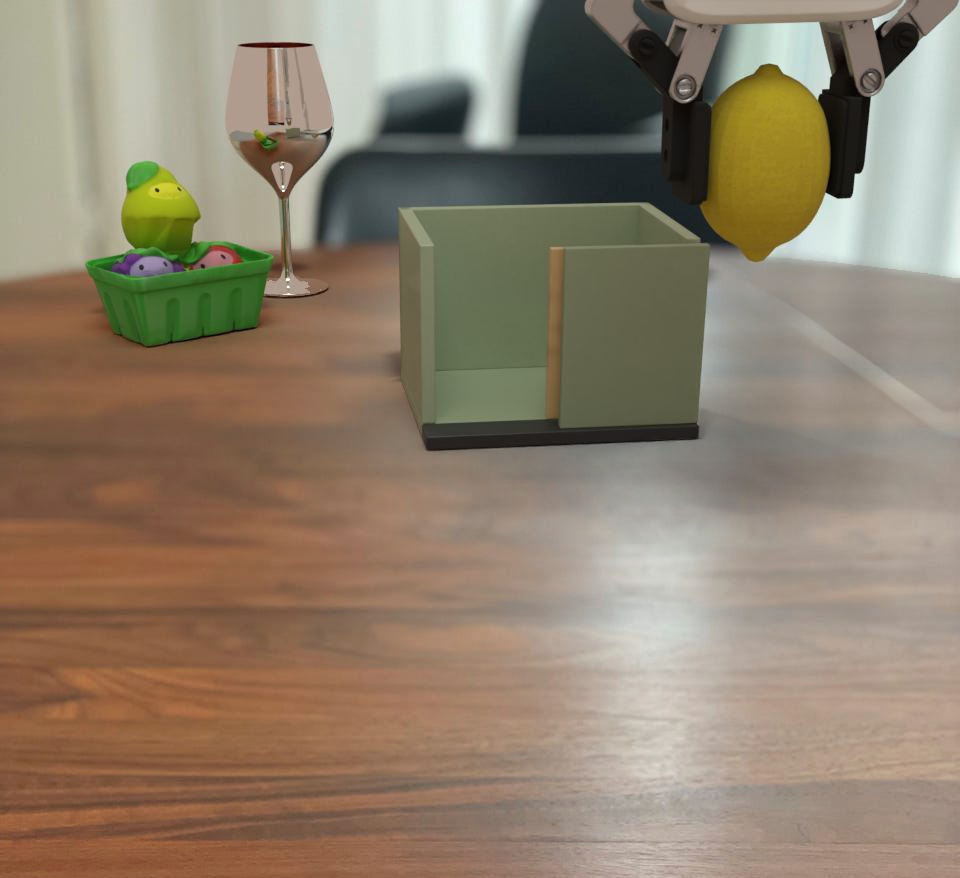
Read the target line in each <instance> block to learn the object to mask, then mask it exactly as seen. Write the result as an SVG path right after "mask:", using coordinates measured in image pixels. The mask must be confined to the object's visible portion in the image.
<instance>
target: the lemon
mask: <svg viewBox="0 0 960 878" xmlns="http://www.w3.org/2000/svg"><path fill="white" fill-rule="evenodd" d="M711 110H712V117H711V135H710V154H709V173H708V192H707V200H706V201H703V202H702V204H701V205H699V207H700V211H701V213H702V215H703V217H704V219H705V221H706V222H707V224H708V225H709V226H710V227H711V228H712V230H713V231H714V232H715V233H716V234H717V235H718V236H720V238H722V239H723V240H724V241H727V242H729V243H730V244H732V245H734V246H736V247H737V248H738V249H739V250H740V251H741V254H743V256H744V257H745V258H746V259H747V260H748V261H750V262H753V263H760V262H763V261H765V259H767V258H768V256H770V255H771V254H772V253H773V252H774V250H775V249H776V248H778V247H780V246H782V245H784V244H786V243H789V242H791V241H793V240H794V239H795V238H797V237H798V236H800V235H801V234H802V233H803V232H804V231H805V230H807V228H808V227H809V226H810V225H811V224H812V222H813V220H814V219H815V217H816V216H817V214H818V212H819V210H820V208H821V206H822V204H823V201H824V198H825V195H826V194H827V193H826V189H827V185H828V180H829V174H830V162H831V151H830V138H829V131H828V126H827V121H826V118H825V115H824V112H823V109H822V107H821V105H820V103H819V102H818V98H817V97H816V96H815V94H813V92H812V91H811V90H810V89H809V88H808V87H807V86H806V85H804V84H803V83H802V82H801V81H799V80H797V79H795V78H794V77H792V76H790V75H787V74H785V73H784V72H783V71H782V70H781V68H780V67H779V65H778V64H773V63H764V64H761V65H759V67H757V68H756V70H755V71H754V73H751V74H749V75H747V76H745V77H743V78H741V79H739V80H737V81H735V82H734V83H732V84H731V85H729V86H728V87H727V88H726V89H725V90H723V91H722V92H721V93H720V94H719V96H717V98H716V99H715V101H714V102H713V104H712V105H711Z"/></svg>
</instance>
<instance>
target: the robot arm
mask: <svg viewBox="0 0 960 878" xmlns="http://www.w3.org/2000/svg"><path fill="white" fill-rule="evenodd" d="M635 1H636V0H585V2H584V13H585V15H586V16H587V17H588V18H589V19H590V20H591V21H592V23H594V24H595V25H596V26H597V27H598V28H599V29H600V30H601V31H602V32H603V33H604V35H606V36H607V37H608V38H609V39H610V40H611V41H612V42H613V43H614V44H616V46H618V47H619V49H620V50H622V51H623V53H624V55H626V57H627V58H628V59H629V60H630V62H632V63H633V65H634V66H636V68H637V69H638V70H639V71H640V73H642V74H643V75H644V76H645V77H646V78H647V80H648V81H649V82H650V83H651V85H653V87H654V90H656V91H657V93H658V94H660V95H662V96H663V97H662V115H661V117H662V120H661V122H662V123H661V145H660V174H661V175H660V176H661V178H662V180H663V181H664V182H666V183H670V190H671V194H672V196H674V197H675V198H677V199H678V200H680V201H681V202H683V203H685V205H687V206H700V205H701V204H702V202H703V201H706V200H707V192H708V173H709V154H710V135H711V117H712V110H711V107H712V105H711V104H709V102H706V101H705V100H704V99H703V98H704V85H703V82H704V80H705V77H706V74H707V71H708V69H709V66H710V63H711V61H712V58H713V55H714V52H715V50H716V48H717V45H718V41H719V39H720V37H721V33H722V31H723V29H724V27H725V25H761V24H765V25H766V24H798V23H799V24H800V23H801V24H802V23H819V27H820V33H821V36H822V40H823V41H822V42H823V44H824V49H825V53H826V57H827V61H828V67H829V69H830V74H831V75H830V77H829V84H828V85H829V86H828V87H829V88H822V89H821V93H819V95H818V97H817V100H818V102H819V103H820V105H821V107H822V109H823V112H824V115H825V118H826V121H827V126H828V131H829V138H830V151H831V162H830V174H829V180H828V185H827V189H826V193H825V194H826V195H828V196H829V195H830V196H831V197H833V198H835V199H837V200H843V199H852V198H853V196H854V195H853V194H854V189H855V178H856V175H861V173H862V172H863V170H864V167H865V161H866V153H867V142H868V141H867V140H868V132H869V131H868V130H869V121H870V111H871V101H872V97H875V96H876V95H878V94H879V93H880V92H881V91H882V89H883V88H884V86H885V82H886V79H887V78H888V77H889V76H890V75H891V74H892V73H893V72H894V71H895V70H897V68H898V67H899V66H900V65H901V64H902V63H903V62H904V61H905V60H906V58H907V57H909V56H910V55H911V54H912V53H913V52H914V50H916V48H917V47H918V44H919V42H920V41H921V40H922V39H923V38H924V37H927V36H928V35H929V34H930V33H931V32H932V31H933V30H934V29H935V28H936V27H937V26H938V25H939V24H940V23H942V21H944V20H945V19H946V17H948V16H949V15H950V14H951V13H952V12H953V11H955V9H956V8H957V7H958V4H959V2H960V0H905V2H904V0H640V1H641V3H642V4H643V5H644V6H645V8H647V9H648V10H650V11H651V12H654V13H656V14H659V15H662V16H665V17H670V18H673V21H672V25H671V28H670V30H669V33H668V34H667V35H668V36H667V38H666V40H665V42H664V40H663V39H662V38H661V37H660V36H659V35H658V34H657V33H656V32H655V31H653V30H652V29H651V28H650V27H649V26H648V25H647V24H646V23H645V22H644V21H643V20H642V19H641V18H640V16H638V14H637V13H636V11H635V7H634V6H635ZM903 2H904V3H903ZM902 3H903V5H902V6H901V7H900V5H901V4H902ZM898 7H900V8H899V9H898V10H897V12H896V13H895V14H894V15H893V16H892V17H891V18H890V19H888V20H885V21H883V22H882V23H880V24H879V26H878V27H877V28H876V29H875V25H874V20H873V19H877V18H880V17H882V16H885V15H887V14H889V13H891V12H893V11H895V10H896V9H897V8H898Z"/></svg>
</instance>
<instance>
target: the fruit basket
mask: <svg viewBox="0 0 960 878" xmlns="http://www.w3.org/2000/svg"><path fill="white" fill-rule="evenodd" d="M125 183H126V194H125V199H124V201H123V203H122V207H121V213H120V220H121V227H122V232H123V234H124V237H125V239H126V241H127V242H128V244H130V245H131V246H132V247H133V249H132V248H130V249H129V250H127V251H126V252H125V253H121V254H116V255H109V256H105V257H99V258H93V259H90V260H87V261H85V263H84V266H85V269H86V270H87V272H88V274H89V277H90V278H92V280H93V282H94V285H95V288H96V290H97V293H98V296H99V299H100V301H101V304H102V306H103V309H104V311H105V314H106V317H107V319H108V321H109V324H110V326H111V327H110V328H111V329H112V331H113V333H114V334H115V333H116V335H120V336H122V337H123V338H125V339H128V340H130V341H133V342H135V343H138V342H139V343H138V344H141V345H143V346H144V347H147V346H149V347H154V346H159V345H165V344H168V342H169V343H171V342H170V341H172V342H173V343H174V342H182V341H186V340H187V341H188V340H193V339H197V338H201V337H209V336H214V335H219V334H224V333H229V332H232V331H240V330H246V329H252V328H256V327H258V323H259V319H260V315H261V309H262V305H263V301H264V297H265V296H264V291H265V286H266V282H267V278H268V276H269V272H270V271H271V270H272V266H273V262H274V255H272V254H270V253H267V252H263V251H261V250H257V249H254V248H250V247H246V246H243V245H241V244H238V243H234V242H229V241H223V240H221V241H220V240H213V241H203V240H201V241H196V240H195V241H193V232H194V225H195V224H196V223H197V222H198V221H199V220H200V219H201V217H202V215H201V212H200V211H201V210H200V209H199V206H198V203H197V202H196V200H195V199H194V198H193V196H192V194H191V193H190V192H189V191H188V190H187V189H186V188H185V187H183V185H181V183H179V182H178V180H177V179H176V177H175V175H174V174H173V173H172V172H171V171H170V170H168V169H166V168H165V167H162V166H160V165H159V164H158V163H157V162H155V161H151V160H144V161H140V162H138V161H137V162H134V163H133V164H132V165H131V166H130V167H129V169H128V170H127V172H126V175H125ZM164 343H165V344H164Z"/></svg>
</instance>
